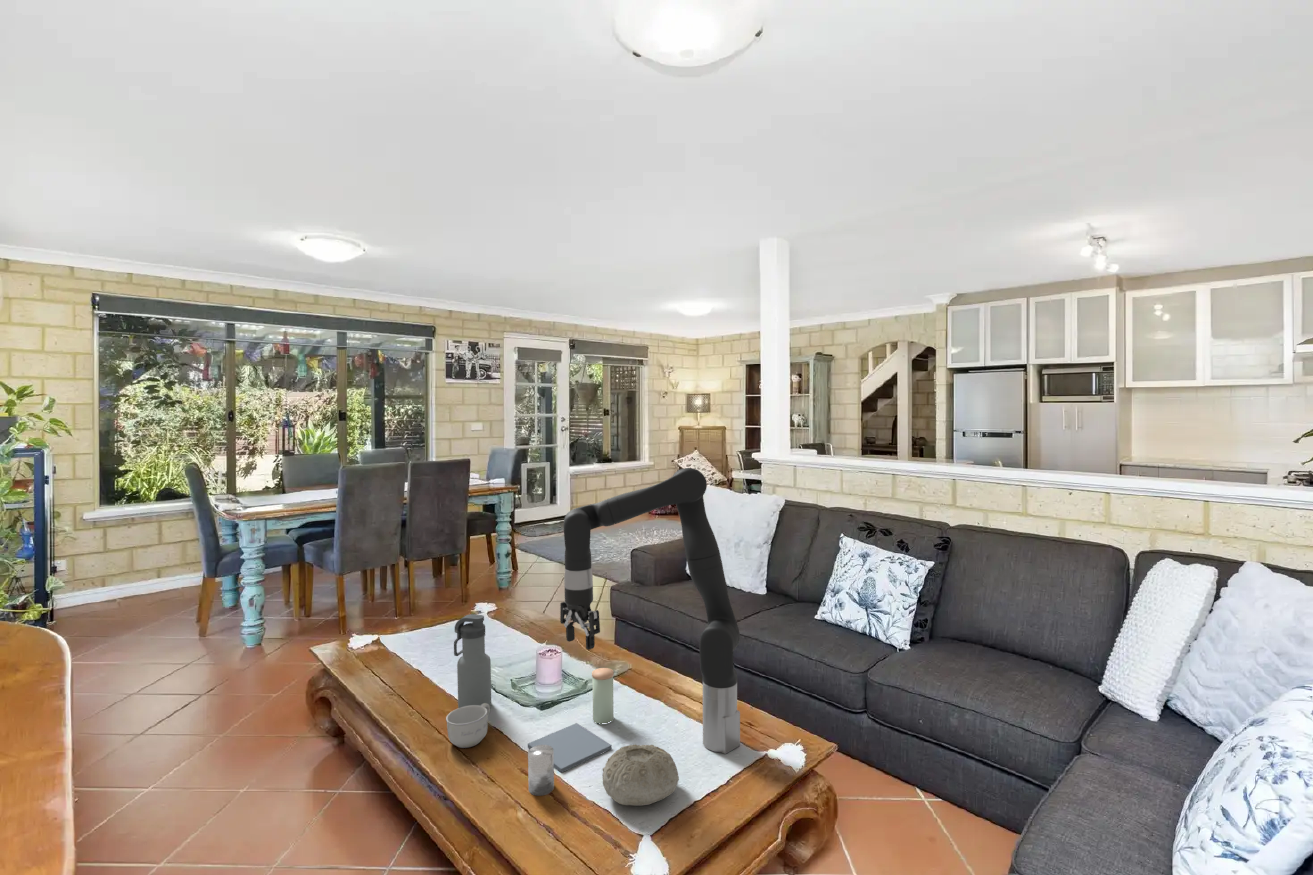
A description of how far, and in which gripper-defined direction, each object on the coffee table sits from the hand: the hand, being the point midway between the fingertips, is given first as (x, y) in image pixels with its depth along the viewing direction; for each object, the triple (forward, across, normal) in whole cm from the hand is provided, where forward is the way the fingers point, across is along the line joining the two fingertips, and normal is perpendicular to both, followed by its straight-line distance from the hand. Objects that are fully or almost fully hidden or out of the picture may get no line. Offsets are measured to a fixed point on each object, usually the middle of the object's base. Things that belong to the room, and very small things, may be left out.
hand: (580, 644), depth 168 cm
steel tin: (+28, -8, +19) cm, 34 cm away
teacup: (+28, +24, +20) cm, 41 cm away
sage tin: (+28, +7, -13) cm, 31 cm away
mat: (+28, +2, +3) cm, 28 cm away
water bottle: (+27, +41, +10) cm, 50 cm away
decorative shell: (+28, -26, +3) cm, 39 cm away
